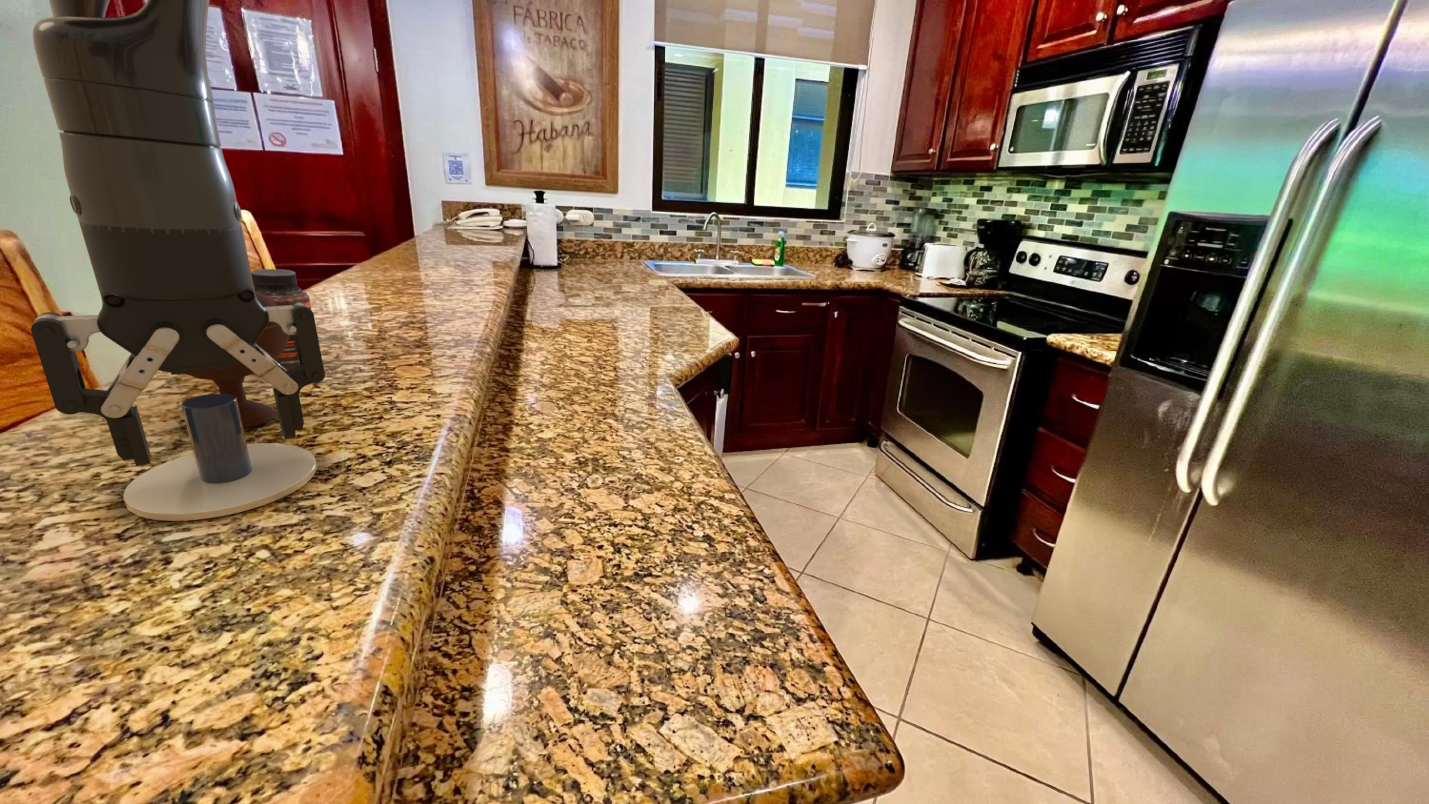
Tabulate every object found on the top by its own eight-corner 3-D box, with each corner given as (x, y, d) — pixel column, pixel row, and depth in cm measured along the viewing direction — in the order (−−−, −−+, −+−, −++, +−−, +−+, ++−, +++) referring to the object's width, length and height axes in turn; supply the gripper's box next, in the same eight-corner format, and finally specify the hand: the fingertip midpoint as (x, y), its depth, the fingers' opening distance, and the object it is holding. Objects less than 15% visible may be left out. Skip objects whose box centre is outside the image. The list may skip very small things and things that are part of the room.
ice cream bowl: (335, 405, 57) (312, 256, 51) (237, 451, 46) (194, 270, 41) (239, 392, 57) (206, 243, 52) (120, 435, 47) (63, 254, 41)
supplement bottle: (250, 377, 61) (228, 274, 57) (265, 361, 66) (246, 266, 62) (315, 375, 63) (298, 276, 59) (325, 360, 68) (310, 268, 64)
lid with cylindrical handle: (127, 470, 42) (101, 389, 40) (303, 438, 49) (290, 368, 47) (123, 540, 35) (91, 446, 32) (330, 491, 42) (316, 411, 40)
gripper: (292, 217, 42) (324, 413, 48) (-3, 206, 33) (81, 451, 39) (311, 228, 37) (345, 444, 43) (-30, 218, 28) (72, 497, 34)
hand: (220, 447), depth 41 cm, fingers open, 7 cm apart
